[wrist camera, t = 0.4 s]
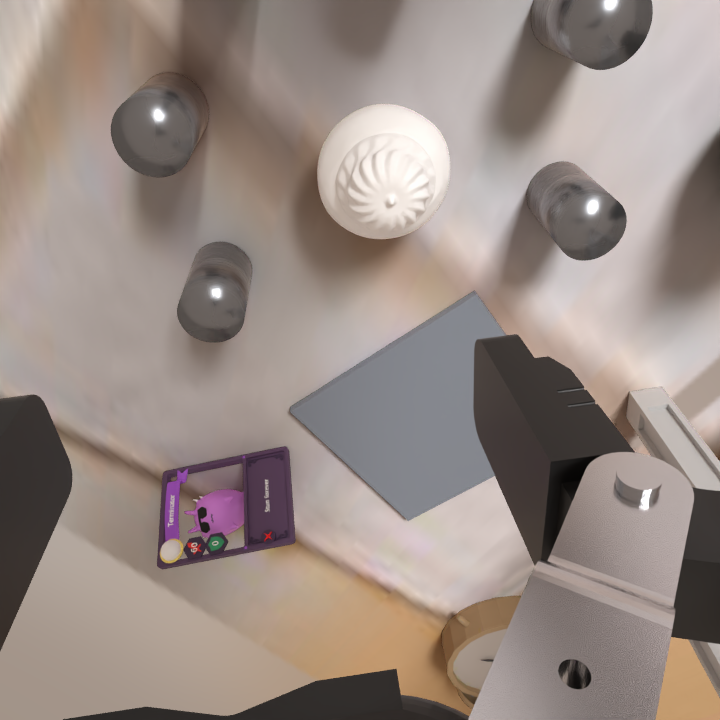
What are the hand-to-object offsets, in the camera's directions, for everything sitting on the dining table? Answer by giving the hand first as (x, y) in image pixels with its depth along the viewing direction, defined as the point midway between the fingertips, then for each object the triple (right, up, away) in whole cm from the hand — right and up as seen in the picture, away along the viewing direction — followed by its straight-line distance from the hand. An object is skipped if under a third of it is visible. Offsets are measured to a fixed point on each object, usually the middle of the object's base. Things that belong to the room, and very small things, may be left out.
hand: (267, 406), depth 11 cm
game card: (-7, -8, +32) cm, 34 cm away
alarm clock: (+15, -26, +47) cm, 56 cm away
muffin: (+3, +11, +19) cm, 23 cm away
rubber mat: (+7, -3, +30) cm, 31 cm away
